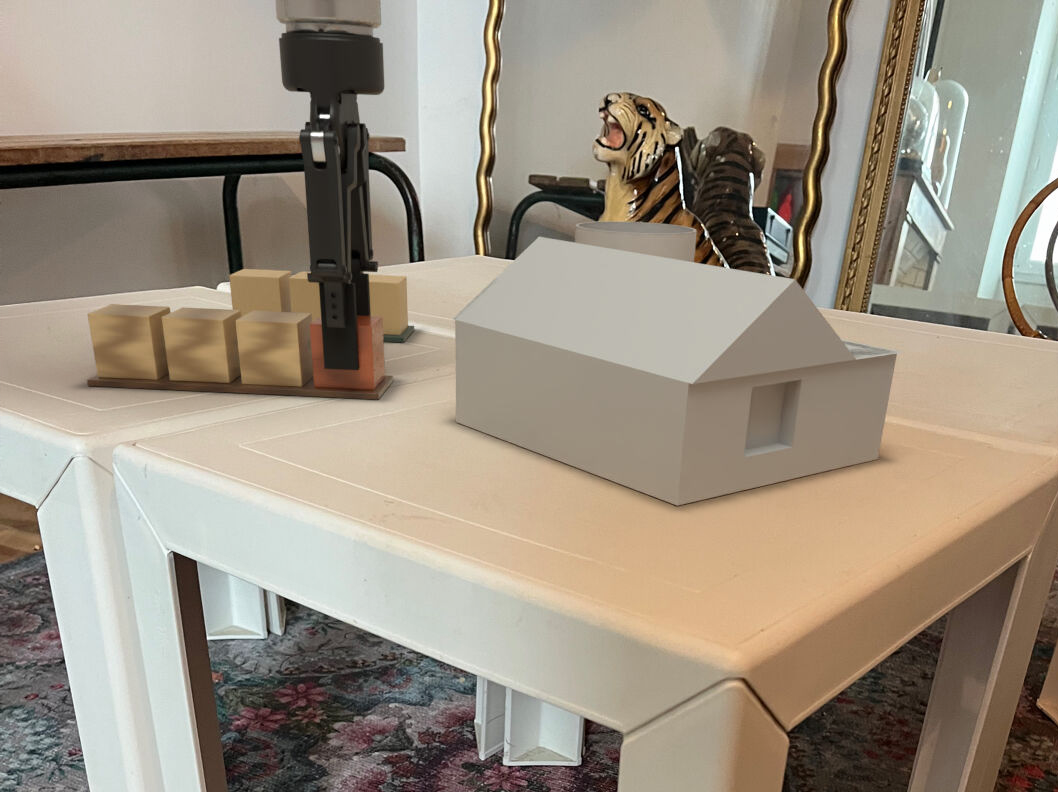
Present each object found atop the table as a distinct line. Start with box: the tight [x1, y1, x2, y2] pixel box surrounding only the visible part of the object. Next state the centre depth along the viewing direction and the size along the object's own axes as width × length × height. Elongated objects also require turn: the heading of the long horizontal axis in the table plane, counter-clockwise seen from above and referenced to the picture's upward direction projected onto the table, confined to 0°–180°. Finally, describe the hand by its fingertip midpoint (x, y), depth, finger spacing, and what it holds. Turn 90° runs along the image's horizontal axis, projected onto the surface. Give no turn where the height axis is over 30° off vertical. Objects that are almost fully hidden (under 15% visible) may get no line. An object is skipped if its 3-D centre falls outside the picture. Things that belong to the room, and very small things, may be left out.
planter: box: [574, 220, 698, 263], centre depth 121 cm, size 13×13×10 cm
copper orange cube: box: [310, 315, 386, 390], centre depth 93 cm, size 5×5×5 cm
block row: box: [228, 268, 415, 344], centre depth 115 cm, size 24×7×6 cm, turn 88°
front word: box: [86, 303, 394, 400], centre depth 94 cm, size 24×7×6 cm, turn 88°
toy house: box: [452, 236, 905, 507], centre depth 81 cm, size 25×21×13 cm
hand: (349, 361), depth 94 cm, fingers closed on copper orange cube, 5 cm apart
